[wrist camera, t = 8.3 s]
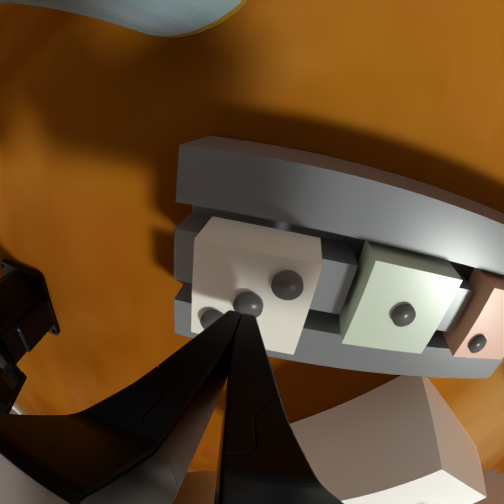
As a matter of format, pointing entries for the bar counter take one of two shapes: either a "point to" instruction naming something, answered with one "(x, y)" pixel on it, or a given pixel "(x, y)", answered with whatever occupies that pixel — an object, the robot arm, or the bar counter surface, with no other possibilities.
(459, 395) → the bar counter surface
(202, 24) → the bottle
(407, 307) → the key sage
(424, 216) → the keypad
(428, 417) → the tissue box
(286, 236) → the key cream
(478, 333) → the key terracotta
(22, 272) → the robot arm
